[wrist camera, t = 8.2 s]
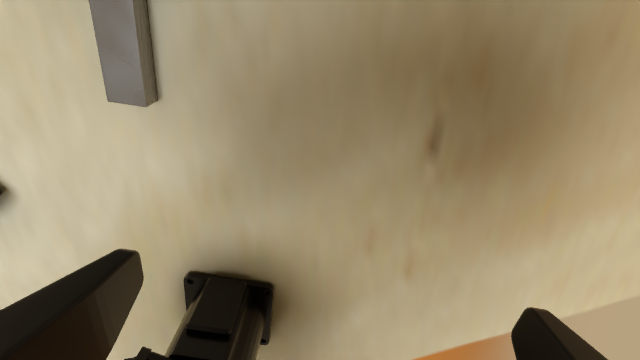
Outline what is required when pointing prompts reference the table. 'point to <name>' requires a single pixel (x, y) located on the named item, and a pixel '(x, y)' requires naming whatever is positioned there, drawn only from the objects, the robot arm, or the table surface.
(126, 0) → the stand
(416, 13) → the table surface
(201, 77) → the table surface
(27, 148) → the table surface
